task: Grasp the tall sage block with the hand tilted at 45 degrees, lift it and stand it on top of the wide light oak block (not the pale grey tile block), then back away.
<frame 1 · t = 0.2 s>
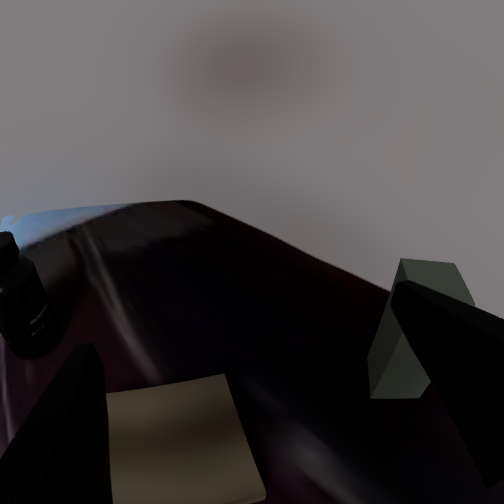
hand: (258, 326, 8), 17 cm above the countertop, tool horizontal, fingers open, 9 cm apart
sage block: (392, 377, 25), on the countertop
supplement bottle: (37, 339, 28), on the countertop
oak block: (179, 457, 20), on the countertop
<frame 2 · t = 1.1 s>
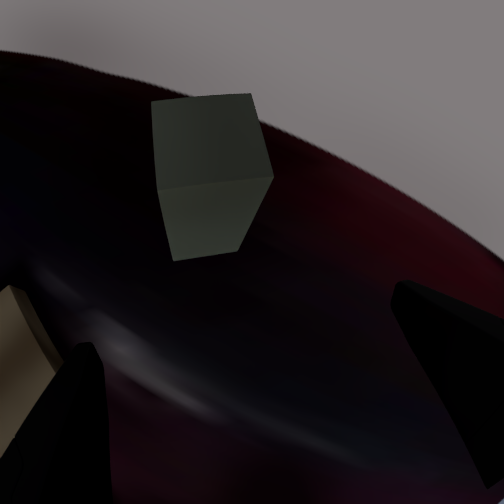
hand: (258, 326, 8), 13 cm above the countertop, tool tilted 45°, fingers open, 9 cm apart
sage block: (200, 225, 23), on the countertop
oak block: (16, 381, 18), on the countertop
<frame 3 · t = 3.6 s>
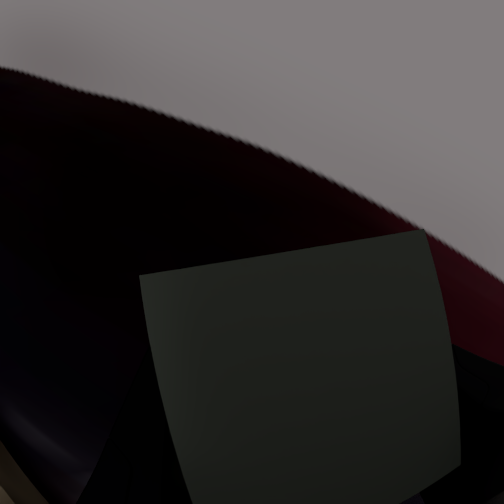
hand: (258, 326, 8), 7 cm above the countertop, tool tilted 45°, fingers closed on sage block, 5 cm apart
sage block: (237, 360, 14), on the countertop, touching gripper
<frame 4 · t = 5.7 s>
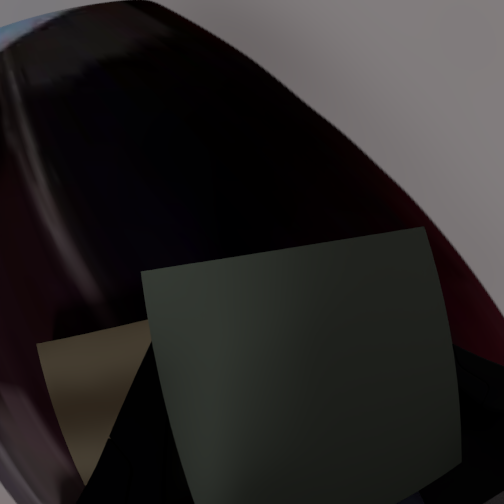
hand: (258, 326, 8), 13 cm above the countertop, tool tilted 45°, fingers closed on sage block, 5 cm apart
sage block: (237, 359, 14), point 7 cm above the countertop, touching gripper
oak block: (134, 399, 19), on the countertop
when the fingers open (10 cm above the countertop, at t = 8.0 s): sage block stays where it is, resting on oak block.
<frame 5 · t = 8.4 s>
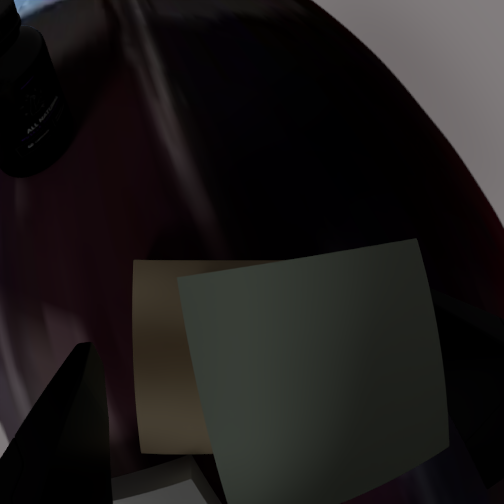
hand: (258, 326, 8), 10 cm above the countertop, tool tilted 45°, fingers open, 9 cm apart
sage block: (242, 354, 15), point 2 cm above the countertop, touching oak block
supplement bottle: (37, 142, 19), on the countertop
oak block: (228, 356, 18), on the countertop, touching sage block
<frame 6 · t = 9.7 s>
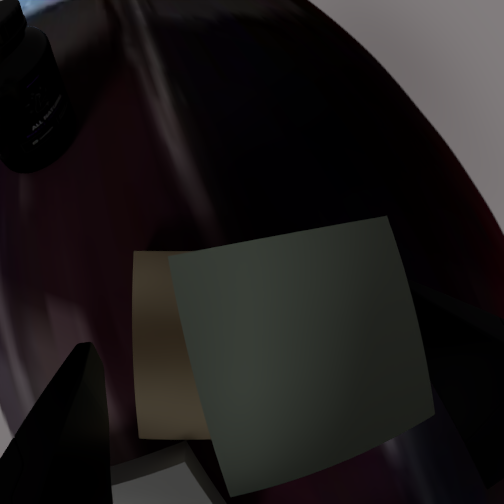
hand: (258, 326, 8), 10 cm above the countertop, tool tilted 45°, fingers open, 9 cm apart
sage block: (241, 345, 16), point 2 cm above the countertop, touching oak block
supplement bottle: (40, 139, 20), on the countertop
oak block: (224, 345, 19), on the countertop, touching sage block
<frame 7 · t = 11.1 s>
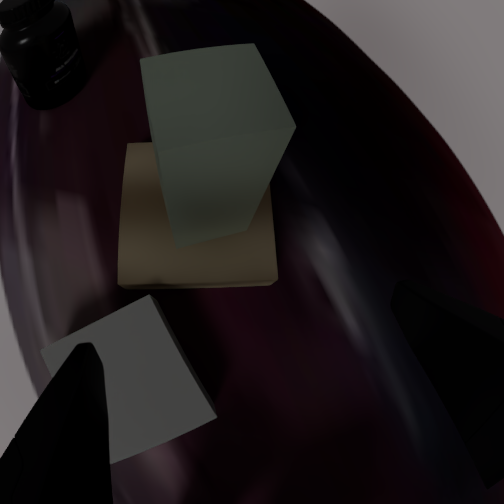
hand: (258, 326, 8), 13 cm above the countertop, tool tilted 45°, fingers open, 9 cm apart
sage block: (202, 206, 21), point 2 cm above the countertop
supplement bottle: (57, 87, 24), on the countertop
oak block: (195, 221, 23), on the countertop
grey tile block: (134, 377, 20), on the countertop
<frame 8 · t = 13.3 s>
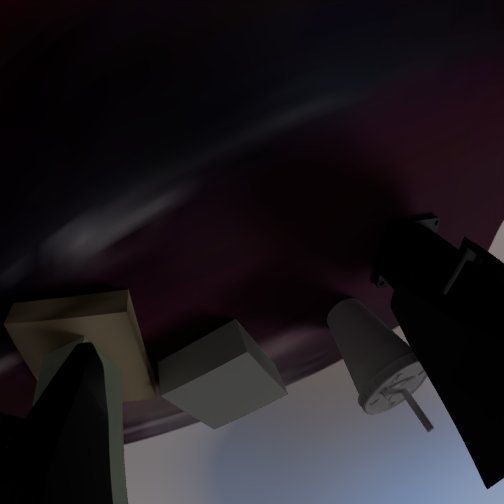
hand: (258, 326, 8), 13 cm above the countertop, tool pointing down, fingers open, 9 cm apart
smoothie: (343, 312, 29), on the countertop
sage block: (82, 364, 21), point 2 cm above the countertop, touching oak block
supplement bottle: (25, 429, 27), on the countertop
oak block: (86, 340, 23), on the countertop, touching sage block
grey tile block: (218, 362, 28), on the countertop
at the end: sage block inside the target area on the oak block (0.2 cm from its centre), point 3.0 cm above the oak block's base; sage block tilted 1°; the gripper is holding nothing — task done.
